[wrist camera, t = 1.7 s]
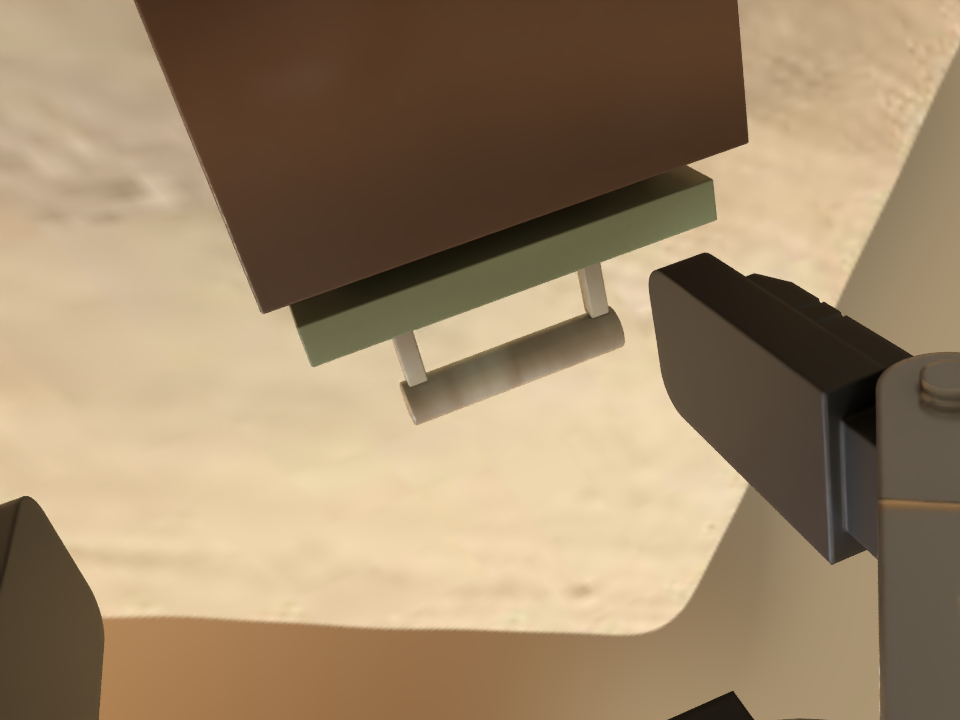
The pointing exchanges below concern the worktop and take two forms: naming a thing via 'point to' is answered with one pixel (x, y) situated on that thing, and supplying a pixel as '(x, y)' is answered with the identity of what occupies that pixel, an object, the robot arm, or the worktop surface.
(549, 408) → the worktop surface
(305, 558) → the worktop surface
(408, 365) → the drawer
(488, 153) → the cabinet
